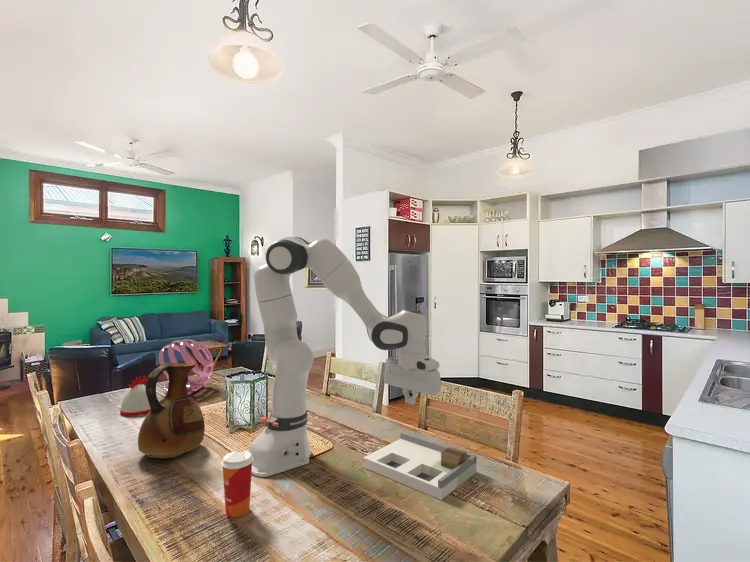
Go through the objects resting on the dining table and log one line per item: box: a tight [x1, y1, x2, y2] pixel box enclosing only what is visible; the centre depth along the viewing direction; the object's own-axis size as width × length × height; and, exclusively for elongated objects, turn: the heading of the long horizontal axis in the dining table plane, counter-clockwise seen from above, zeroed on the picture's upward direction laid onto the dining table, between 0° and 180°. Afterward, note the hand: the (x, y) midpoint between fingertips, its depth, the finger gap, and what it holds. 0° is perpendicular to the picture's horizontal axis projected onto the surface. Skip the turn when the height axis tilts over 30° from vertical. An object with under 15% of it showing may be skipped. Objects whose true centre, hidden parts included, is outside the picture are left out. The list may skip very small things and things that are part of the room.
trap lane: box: [362, 431, 477, 501], centre depth 123 cm, size 20×28×5 cm
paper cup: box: [220, 450, 253, 519], centre depth 101 cm, size 8×8×14 cm
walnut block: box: [441, 446, 468, 470], centre depth 120 cm, size 6×6×4 cm
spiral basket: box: [158, 338, 214, 394], centre depth 206 cm, size 28×28×27 cm
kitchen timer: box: [119, 375, 151, 417], centre depth 177 cm, size 14×14×15 cm
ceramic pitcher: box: [137, 362, 206, 459], centre depth 136 cm, size 20×20×30 cm
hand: (410, 403), depth 129 cm, fingers closed
